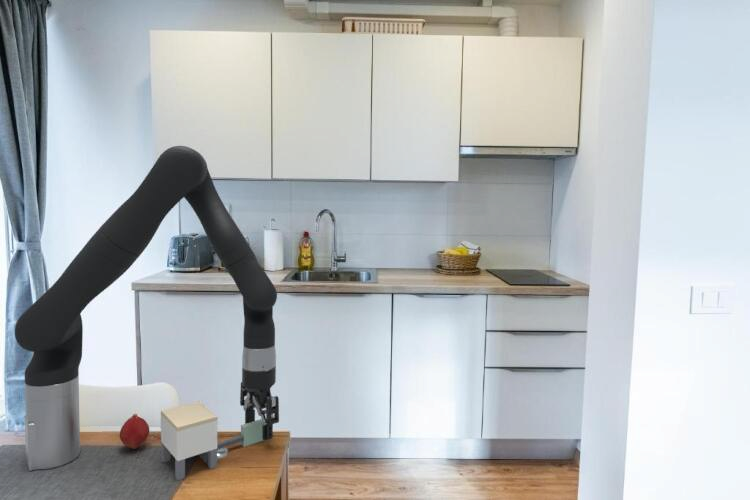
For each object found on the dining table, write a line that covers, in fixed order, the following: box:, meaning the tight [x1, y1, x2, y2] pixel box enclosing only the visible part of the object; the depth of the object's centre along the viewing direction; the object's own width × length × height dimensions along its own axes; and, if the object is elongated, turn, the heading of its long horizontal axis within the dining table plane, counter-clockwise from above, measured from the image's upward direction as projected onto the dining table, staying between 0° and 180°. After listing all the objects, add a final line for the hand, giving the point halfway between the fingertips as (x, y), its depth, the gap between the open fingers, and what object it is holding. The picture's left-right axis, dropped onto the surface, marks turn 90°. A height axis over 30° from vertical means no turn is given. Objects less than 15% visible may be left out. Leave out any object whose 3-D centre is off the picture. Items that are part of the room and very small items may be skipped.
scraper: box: [197, 418, 264, 465], centre depth 104 cm, size 14×5×4 cm, turn 132°
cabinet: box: [160, 400, 218, 482], centre depth 97 cm, size 8×10×11 cm
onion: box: [119, 413, 150, 450], centre depth 103 cm, size 6×6×8 cm
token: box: [217, 447, 229, 460], centre depth 102 cm, size 4×4×1 cm
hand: (258, 432), depth 108 cm, fingers open, 8 cm apart
